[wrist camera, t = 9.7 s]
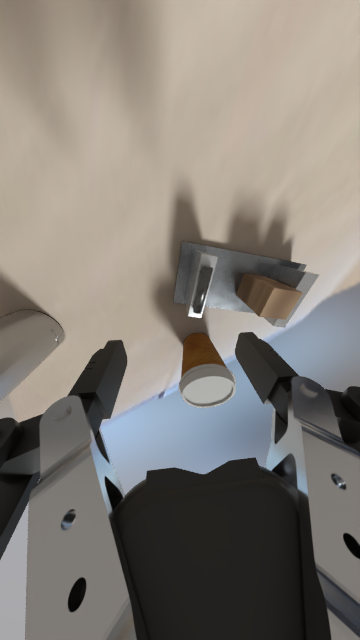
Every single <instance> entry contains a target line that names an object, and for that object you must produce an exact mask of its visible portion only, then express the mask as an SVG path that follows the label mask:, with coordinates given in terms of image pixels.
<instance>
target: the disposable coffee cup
mask: <svg viewBox="0 0 360 640" xmlns="http://www.w3.org/2000/svg"><path fill="white" fill-rule="evenodd" d="M235 383H236V379H235V376H234V375H233V373H232V372H231V371H229V369H227V367H226V366H225V364H224V362H223V361H222V359H221V357H220V355H219V354H218V352H217V350H216V348H215V347H214V345H213V343H212V342H211V340H210V338H209V337H208V336H207V335H205V334H203V333H194V334H191V335H189V336H188V337H187V338H186V339H185V341H184V347H183V361H182V376H181V380H180V382H179V392H180V394H181V395H182V398H183V400H184V401H185V402H186V403H187V404H189V405H191V406H194V407H199V408H208V407H215V406H218V405H221V404H223V403H225V402H227V401H228V400H229V399H231V398H232V397H233V395H234V394H235V391H236V387H235Z"/></svg>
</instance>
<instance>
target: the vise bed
mask: <svg viewBox="0 0 360 640" xmlns="http://www.w3.org/2000/svg"><path fill="white" fill-rule="evenodd" d="M194 250H199V251H204V252H208V253H210V254H213V255H215V256H217V257H218V259H217V263H216V266H215V270H214V274H213V277H212V281H211V284H210V288H209V292H208V295H207V299H206V302H205V306H204V307H212V308H220V309H227V310H235V311H243V312H251V313H255V312H254V311H253V310H252V309H250V308H249V307H248V306H247V305H246V304H245V303H244V302H243V301H242V300H241V299H240V298H238V297H237V296H236V294H237V291H238V288H239V286H240V283H241V281H242V278H243V275H244V273H247V274H253V275H259V276H266V277H268V278H270V279H273V280H275V281H277V282H280V283H282V284H284V285H287V286H289V287H291V288H294V289H296V290H298V291H301V292H303V294H302V295H301V297H300V298H299V300H298V301H297V303H296V305H295V306H294V308H293V309H292V311H291V312H290V314H289V316H288V317H287V319H286V320H283V319H274V318H266V317H264V318H265V319H266V320H267V321H268V322H269V323H271V324H272V325H273V326H277V327H285V326H286V324H287V323H288V321H289V320H290V318H291V317H292V315H293V314H294V312H295V311H296V309H297V308H298V306H299V305H300V303H301V302H302V300H303V299H304V297H305V296H306V294H307V293H308V291H309V289H310V288H311V286H312V285H313V283H314V282H315V280H316V279H317V277H318V276H319V275H318V274H314V273H310V272H306V271H303V270H304V269H305V267H306V265H305V264H300V263H296V262H291V261H285V260H280V259H275V258H269V257H264V256H259V255H253V254H248V253H243V252H237V251H232V250H226V249H221V248H216V247H210V246H205V245H200V244H194V243H189V242H184V241H182V246H181V252H180V259H179V266H178V273H177V279H176V286H175V293H174V300H173V303H181V304H185V296H186V291H187V286H188V281H189V276H190V270H191V265H192V260H193V255H194Z"/></svg>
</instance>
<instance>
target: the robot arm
mask: <svg viewBox="0 0 360 640" xmlns="http://www.w3.org/2000/svg"><path fill="white" fill-rule="evenodd" d="M63 340H64V332H63V330H62V328H61V327H60V325H59V324H58V323H57V322H56V321H55V320H53V319H52V318H51V317H49V316H47V315H45V314H43V313H40V312H37V311H33V310H20V311H17V312H15V313H13V314H11V315H9V314H6V315H4V316H2V317H0V402H1V401H3V399H5V398H6V397H7V396H8V395H9V394H10V393H11V392H12V391H13V390H14V389H15V388H16V387H17V386H18V385H19V384H20V383H21V382H22V381H23V380H24V379H25V378H26V377H27V376H28V375H29V374H30V373H31V372H32V371H33V370H34V369H35V368H37V367H38V366H39V365H40V364H41V363H42V362H43V361H44V360H45V359H46V358H47V357H48V356H49V355H50V354H51V353H52V352H53V351H54V350H55V349H56V348H57V347H58V346H59V345H60V344H61V343H62V342H63ZM235 355H236V358H237V360H238V361H239V363H240V365H241V366H242V368H243V370H244V371H245V373H246V375H247V377H248V378H249V380H250V382H251V383H252V385H253V387H254V389H255V390H256V392H257V394H258V395H259V397H260V399H261V401H262V402H263V404H270V403H272V405H273V406H274V409H273V414H272V431H271V446H270V451H269V453H268V457H267V461H266V468H264V467H261V466H259V465H258V463H257V460H256V458H247V459H240V460H232V461H228V462H227V463H225V464H223V465H221V466H220V467H218V468H216V469H214V470H212V471H211V472H209V473H207V474H198V473H194V472H190V471H186V470H182V469H179V468H167V469H159V470H151V471H147V476H146V479H145V480H143V481H142V482H140V483H139V484H137V485H136V486H135V487H133V488H132V490H130V491H129V492H128V493H127V494H126V495H125V494H124V491H123V488H122V485H121V483H120V480H119V477H118V475H117V473H116V471H115V469H114V467H113V464H112V462H111V459H110V456H109V453H108V450H107V447H106V444H105V441H104V438H103V435H102V432H101V429H100V425H101V422H102V419H110V418H111V415H112V411H113V408H114V405H115V402H116V398H117V395H118V392H119V389H120V386H121V382H122V379H123V376H124V373H125V369H126V366H127V355H126V352H125V348H124V345H123V342H122V340H110V341H108V342H107V344H106V345H105V347H104V349H100V350H98V351H97V352H96V353H95V354H94V355H93V356H92V358H91V359H90V361H89V363H88V364H87V366H86V367H85V370H83V372H82V374H81V375H80V377H79V378H78V380H77V382H76V383H75V385H74V386H73V388H72V390H71V391H70V393H69V394H68V396H67V397H64V398H62V399H60V400H58V401H57V402H55V403H54V404H53V405H51V406H50V407H49V408H48V409H47V410H46V412H45V413H44V414H41V415H39V416H36V417H33V418H31V419H28V420H25V421H22V422H20V423H18V422H17V421H16V420H14V419H13V418H3V419H0V559H1V557H2V555H3V553H4V551H5V549H6V547H7V545H8V543H9V541H10V538H11V537H12V534H13V532H14V530H15V528H16V526H17V524H18V522H19V520H20V518H21V516H22V514H23V512H24V510H25V508H26V506H27V504H28V502H29V511H28V552H27V588H26V624H25V625H26V626H25V640H360V387H356V386H351V387H348V388H347V389H346V391H345V392H337V391H332V390H327V389H324V388H323V387H322V386H321V385H320V384H318V383H317V382H315V381H313V380H311V379H309V378H306V377H302V376H299V375H298V374H297V373H296V372H295V371H294V370H293V369H292V368H291V367H290V366H289V365H288V364H287V363H286V362H285V361H284V360H283V359H282V358H281V357H280V356H279V355H278V354H277V353H276V351H274V349H273V348H272V347H271V346H270V345H269V344H268V343H266V342H265V341H263V340H261V339H258V337H257V336H256V335H255V334H254V333H253V332H245V333H240V334H239V336H238V340H237V344H236V348H235ZM39 479H40V481H39ZM38 481H39V483H38Z"/></svg>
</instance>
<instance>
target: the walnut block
mask: <svg viewBox="0 0 360 640" xmlns="http://www.w3.org/2000/svg"><path fill="white" fill-rule="evenodd" d="M302 294H303V292H301V291H298V290H296V289H294V288H291V287H289V286H287V285H284V284H282V283H280V282H277V281H275V280H273V279H270V278H268V277H266V276H259V275H253V274H247V273H244V275H243V278H242V281H241V283H240V286H239V288H238V291H237V294H236V296H237V297H238V298H240V299H241V300H242V301H243V302H244V303H245V304H246V305H247V306H248V307H249V308H250V309H252V310H253V311H254V312H255V313H256V314H257V315H258V316H259V317H266V318H274V319H283V320H286V319H287V317H288V316H289V314H290V312H291V311H292V309H293V308H294V306H295V305H296V303H297V301H298V300H299V298H300V297H301V295H302Z"/></svg>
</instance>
